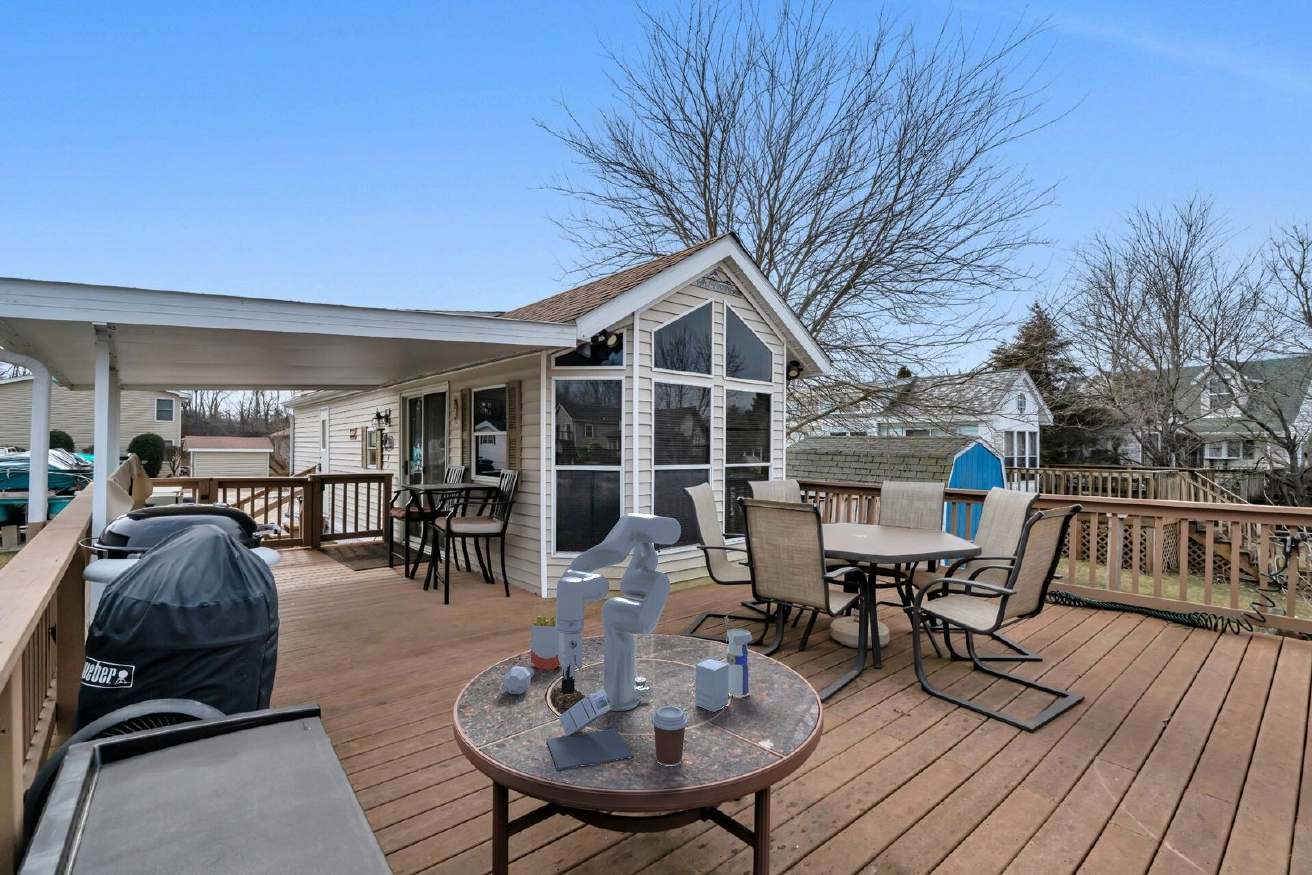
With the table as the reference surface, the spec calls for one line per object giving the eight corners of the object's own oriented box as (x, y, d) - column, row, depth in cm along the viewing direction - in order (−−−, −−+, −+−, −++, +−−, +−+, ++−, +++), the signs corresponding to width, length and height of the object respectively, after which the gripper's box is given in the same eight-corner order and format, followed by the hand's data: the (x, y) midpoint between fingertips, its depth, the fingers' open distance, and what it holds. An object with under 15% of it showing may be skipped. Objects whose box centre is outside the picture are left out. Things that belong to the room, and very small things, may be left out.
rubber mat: (615, 730, 164) (616, 728, 164) (633, 757, 150) (633, 755, 150) (546, 741, 157) (546, 738, 157) (557, 770, 143) (558, 767, 143)
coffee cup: (658, 747, 155) (659, 701, 155) (692, 755, 151) (693, 707, 151) (644, 764, 146) (645, 715, 146) (679, 773, 143) (680, 722, 143)
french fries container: (534, 663, 213) (535, 612, 213) (564, 665, 212) (565, 614, 212) (530, 668, 208) (531, 616, 209) (561, 670, 207) (562, 617, 208)
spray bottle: (739, 701, 184) (740, 619, 185) (718, 692, 191) (720, 613, 191) (756, 694, 190) (757, 615, 190) (735, 685, 196) (737, 609, 197)
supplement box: (728, 706, 181) (729, 664, 181) (714, 713, 175) (714, 670, 176) (709, 698, 186) (710, 658, 186) (694, 706, 180) (695, 663, 181)
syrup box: (566, 737, 159) (599, 715, 153) (557, 716, 161) (589, 693, 155) (581, 729, 164) (614, 708, 157) (572, 709, 166) (604, 687, 159)
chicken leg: (544, 680, 200) (536, 656, 202) (530, 691, 183) (521, 664, 184) (521, 690, 200) (513, 665, 202) (504, 701, 182) (496, 674, 184)
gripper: (590, 631, 156) (588, 702, 155) (577, 615, 170) (575, 681, 169) (561, 633, 153) (559, 705, 152) (551, 617, 167) (549, 684, 167)
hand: (567, 692), depth 161 cm, fingers closed
